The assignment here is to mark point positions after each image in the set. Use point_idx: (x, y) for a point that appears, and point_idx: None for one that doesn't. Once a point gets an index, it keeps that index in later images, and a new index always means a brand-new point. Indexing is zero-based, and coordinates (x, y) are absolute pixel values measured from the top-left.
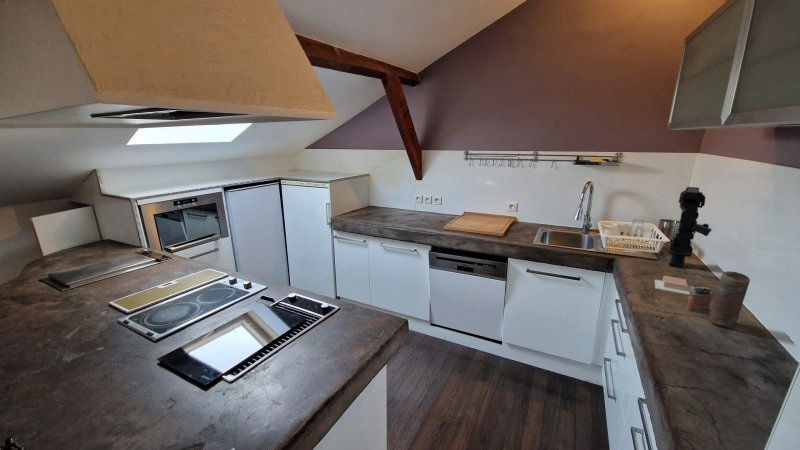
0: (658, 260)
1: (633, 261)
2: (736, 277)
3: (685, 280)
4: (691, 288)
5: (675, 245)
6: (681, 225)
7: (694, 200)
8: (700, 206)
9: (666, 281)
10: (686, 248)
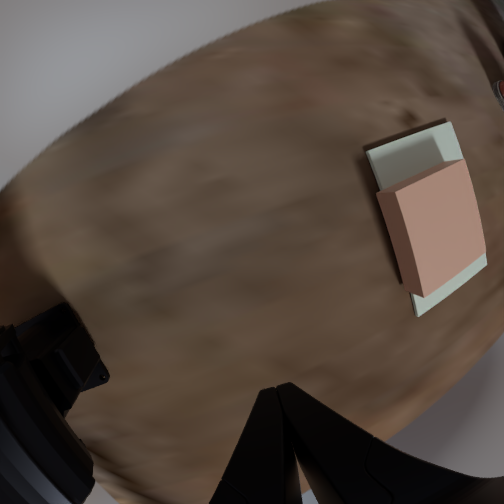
0: (83, 435)
1: None
2: None
3: (412, 186)
4: (401, 150)
5: (69, 485)
6: None
7: None
8: None
9: (477, 249)
10: (16, 395)
